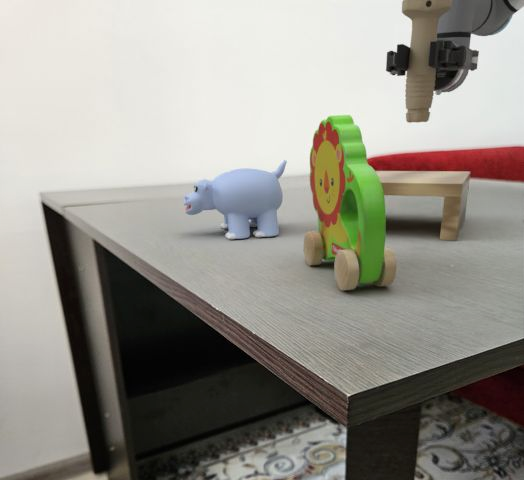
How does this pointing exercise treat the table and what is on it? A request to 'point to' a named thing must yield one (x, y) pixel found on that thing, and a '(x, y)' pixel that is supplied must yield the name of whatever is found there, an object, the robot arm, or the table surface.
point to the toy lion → (347, 208)
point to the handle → (421, 55)
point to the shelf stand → (433, 193)
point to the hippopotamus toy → (241, 200)
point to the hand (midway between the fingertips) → (415, 54)
